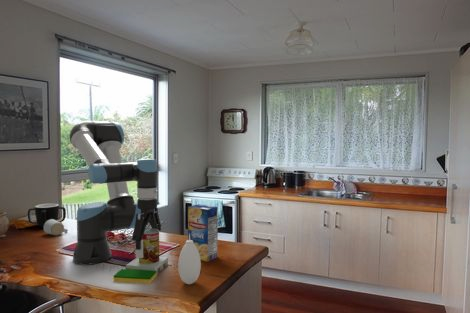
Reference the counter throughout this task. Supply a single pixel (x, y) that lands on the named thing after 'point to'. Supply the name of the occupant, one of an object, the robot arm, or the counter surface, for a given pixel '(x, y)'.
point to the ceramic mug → (54, 227)
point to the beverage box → (204, 230)
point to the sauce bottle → (189, 262)
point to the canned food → (150, 247)
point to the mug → (46, 213)
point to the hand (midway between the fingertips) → (147, 251)
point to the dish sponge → (135, 276)
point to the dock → (148, 265)
